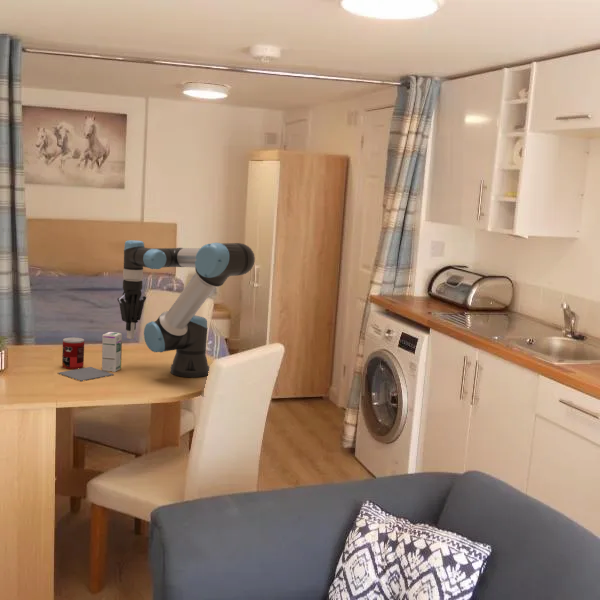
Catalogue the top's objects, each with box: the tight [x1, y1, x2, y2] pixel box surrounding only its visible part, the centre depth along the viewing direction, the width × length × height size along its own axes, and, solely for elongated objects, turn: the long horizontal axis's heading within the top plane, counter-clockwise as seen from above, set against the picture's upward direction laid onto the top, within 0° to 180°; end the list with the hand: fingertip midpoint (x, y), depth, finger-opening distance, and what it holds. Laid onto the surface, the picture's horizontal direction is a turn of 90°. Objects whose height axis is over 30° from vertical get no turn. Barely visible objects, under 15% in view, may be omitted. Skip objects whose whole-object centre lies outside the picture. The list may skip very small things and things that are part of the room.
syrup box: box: [101, 331, 123, 373], centre depth 286 cm, size 6×6×14 cm
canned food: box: [61, 337, 85, 370], centre depth 286 cm, size 8×8×11 cm
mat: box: [58, 366, 115, 382], centre depth 277 cm, size 14×15×1 cm
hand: (130, 338), depth 292 cm, fingers closed
